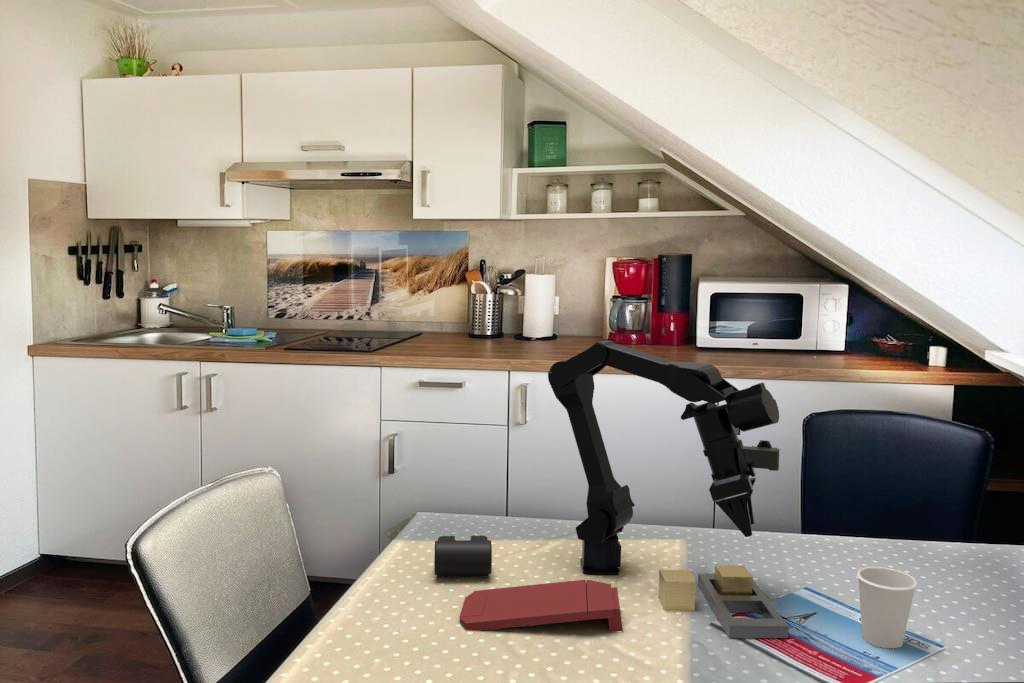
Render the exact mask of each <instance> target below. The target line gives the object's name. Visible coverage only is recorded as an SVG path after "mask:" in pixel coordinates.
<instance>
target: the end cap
mask: <svg viewBox="0 0 1024 683" xmlns="http://www.w3.org/2000/svg"><path fill="white" fill-rule="evenodd" d="M492 547H493V546H492V540H490V539H488V537H487V536H486V535H483V534H481V535H475V534H473V535H470V539H467V540H466V539H464V540H461V539H459V540H458V539H457V540H456V535H440V536H438V538H437V540H435V541H434V556H433V557H434V561H433V562H434V564H433V565H434V566H433V568H434V571H433V572H434V576H437V578H489V575H491V574H492V568H493V567H492V565H493V564H492V563H493V562H492V561H493V560H492V559H493V550H492Z"/></svg>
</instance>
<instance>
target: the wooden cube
mask: <svg viewBox="0 0 1024 683" xmlns="http://www.w3.org/2000/svg"><path fill="white" fill-rule="evenodd" d="M658 571H659V572H658V597H657V598H658V600H659V602H660V604H662V605H661V607H662V609H663V611H664V610H680V611H679V612H682V610H683V612H695V611H696V610H695V607H696V593H697V592H696V591H697V590H696V587H697V581H696V580H695V578H694V576H693V574H692V573H691V571H690V569H659V570H658ZM684 610H686V611H684ZM687 610H688V611H687Z"/></svg>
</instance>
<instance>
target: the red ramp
mask: <svg viewBox="0 0 1024 683" xmlns="http://www.w3.org/2000/svg"><path fill="white" fill-rule="evenodd" d="M619 600H620V598H619V591H618V586H617V587H616V586H614V587H612V584H611V583H608V582H602V581H597V580H591V579H588V578H587V579H578V580H568V581H567V580H566V581H557V582H547V583H537V584H528V585H519V586H518V585H517V586H509V587H507V586H506V587H499V588H489V589H481V590H479V589H478V590H473V591H472V592H471V593H470V594H468V595H466V596H465V597H464V601H463V604H462V607H461V610H460V614H459V617H458V618H459V624H460V625H461V626H463V628H464V629H465V630H466V631H477V632H478V631H487V630H488V631H489V630H498V629H510V628H516V627H517V628H519V627H528V626H537V625H538V626H540V625H549V624H556V623H557V624H558V623H568V622H579V621H589V620H599V619H600V620H602V619H607V622H608V628H609V632H616V631H623V632H624V629H623V621H622V614H621V606H620V601H619Z"/></svg>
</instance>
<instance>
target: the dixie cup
mask: <svg viewBox="0 0 1024 683" xmlns="http://www.w3.org/2000/svg"><path fill="white" fill-rule="evenodd" d="M856 576H857V579H858V589H859V590H858V592H859V609H860V623H861V624H860V625H861V636H862V639H863V640H864V641H865V642H866V643H867V644H870V645H871V644H872V646H874V647H877V648H880V647H882V649H886V648H888V650H889V648H890V650H892V649H891V648H893V650H894V648H896V649H899V648H901V647H903V643H904V640H905V634H906V631H907V625H908V620H909V617H910V612H911V607H912V603H913V599H914V595H915V594H914V593H915V590H916V588H917V587H918V581H917V580H916V579H915V578H914V576H912V575H910V574H908V573H906V572H904V571H901V570H898V569H893V568H890V567H889V568H888V567H885V566H882V567H881V566H867V567H863V568H860V569H859V570H858V571H857V572H856ZM878 646H879V647H878ZM898 647H899V648H898Z"/></svg>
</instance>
